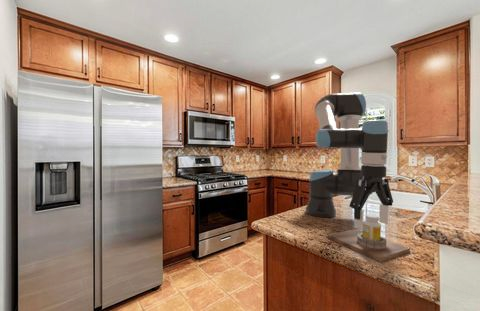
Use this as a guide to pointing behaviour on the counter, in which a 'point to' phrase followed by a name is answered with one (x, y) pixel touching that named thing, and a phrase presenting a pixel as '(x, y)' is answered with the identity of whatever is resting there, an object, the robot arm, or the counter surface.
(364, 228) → the supplement bottle
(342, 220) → the counter surface
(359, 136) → the robot arm
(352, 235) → the ring board
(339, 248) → the counter surface
